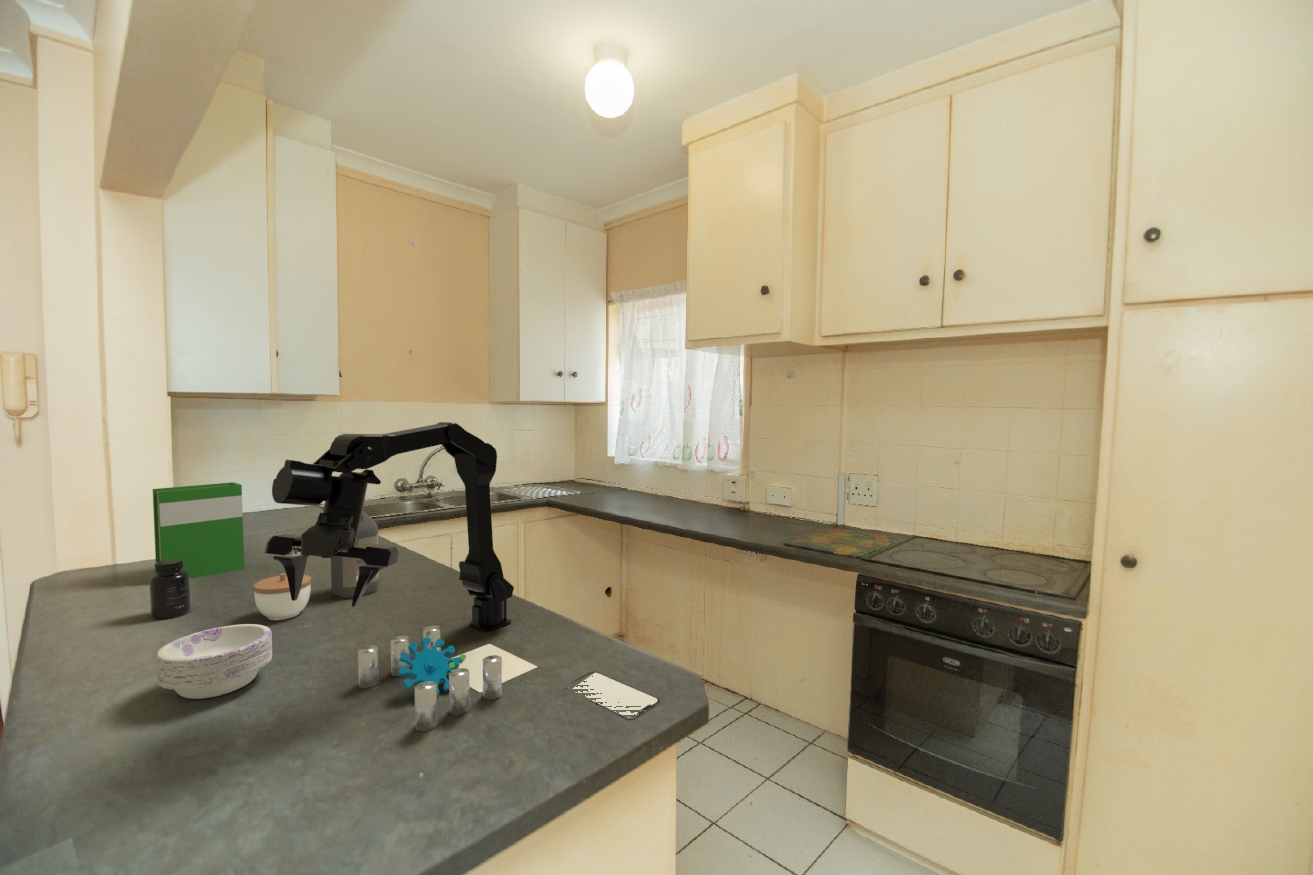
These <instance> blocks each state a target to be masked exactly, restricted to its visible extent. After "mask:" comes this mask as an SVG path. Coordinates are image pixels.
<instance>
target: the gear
mask: <svg viewBox="0 0 1313 875" xmlns="http://www.w3.org/2000/svg"><path fill="white" fill-rule="evenodd" d="M430 641H431V639H430V638H423V637H422V640H421V646H422V649H421V651H420V652H419V651H417V648H418V646H419V644H418V643H417V642H416V641H414V642H412V643H409V646H408V649H409V652H410V653H412V655H413V659H410V658H409V655H410V653H409V654H408V653H406V652H405V653H404V654H403V655H402V656H401V658H400V659H399V660H400V661H401V662H405V663H407V664H409V665H410V670H408V669H407V668H406V667H405V666H401V667H400V669H399V671H398V675H399V676H398V677H404V676H406V675H407V676H412V677H414V679H412V678H406V679H405V680H404V682H403V686H404V688H405V689H406V690H409V689H410V688H411V687H412V686H413V685H415V684H419V683H421V682H426V681H433V682H435V683H436V687H437V697H438V696H439V694H440V690H439V684H440V681H442V682H443V685H442V690H443V691H444V692H447V691H449V678H448V677H447V675H448V676H449V673H450V672H451V671H452V670H454V669H458V668H459V664H460V663H463V661H464V660H465V659H466V656H465V655H464V654H463V653H461V654H462V655H461V654H459V655H460V657H456V658H453V657H451V658H450V657H447V656H445V654H446V655H449V656H452V655H453V654H454V653H455V650H456V649H455V647H454V645H449V646H448V647H447V648H445V649H444V650H441V651H438V650H437V648H438V647H441V648H442V647H443V645H445V640H444V639H443V638H441V639H440V638H439V639H437V641H436V643H435V646H434V647H433V648H432V649H427V647H426V646H427V645H428V644H429V643H430Z"/></svg>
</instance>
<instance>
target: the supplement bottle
mask: <svg viewBox="0 0 1313 875" xmlns="http://www.w3.org/2000/svg"><path fill="white" fill-rule="evenodd" d="M183 568H184V565H183V560H182V559H168V560H163V561H159V562H156V561H155V563H154V572H155V574H154V575H152V576H151V577H150V578H149V580H148V581H149V584H148V586H149V604H150V605H149V606H150V616H151V618H152V619H154V618H155V619H154V620H169V619H168V618H170V619H174V617H175V618H178V616H179V617H181V616H184V615H186V614H188V613H189V612H190V611H191V610H192V600H191V599H192V597H191V596H192V595H191V579H190V575H189V573H188V572H187V571H184V570H183Z"/></svg>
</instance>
